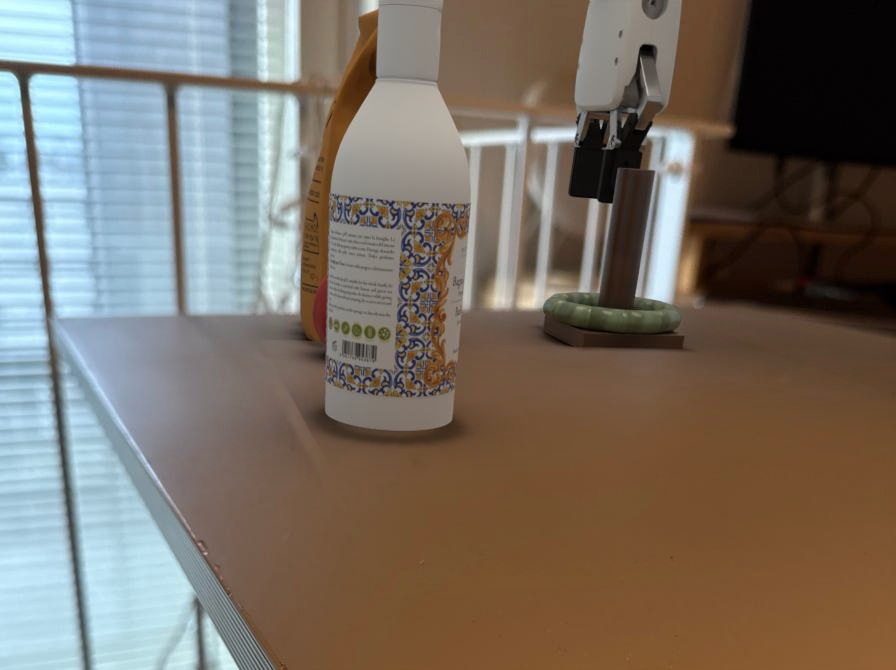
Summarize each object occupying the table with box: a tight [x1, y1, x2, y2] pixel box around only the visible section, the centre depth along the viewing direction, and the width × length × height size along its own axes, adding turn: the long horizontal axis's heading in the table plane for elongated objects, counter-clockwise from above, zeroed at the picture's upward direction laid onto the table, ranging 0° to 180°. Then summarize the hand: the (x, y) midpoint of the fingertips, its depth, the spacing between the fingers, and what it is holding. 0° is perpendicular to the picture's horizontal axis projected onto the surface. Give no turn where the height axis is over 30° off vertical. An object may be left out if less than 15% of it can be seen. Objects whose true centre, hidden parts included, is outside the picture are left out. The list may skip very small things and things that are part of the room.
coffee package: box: [299, 8, 379, 342], centre depth 72 cm, size 10×12×22 cm
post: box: [542, 168, 686, 350], centre depth 80 cm, size 9×9×14 cm
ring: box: [542, 291, 683, 334], centre depth 82 cm, size 12×12×2 cm
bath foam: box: [324, 0, 472, 432], centre depth 48 cm, size 7×7×20 cm
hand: (599, 198), depth 84 cm, fingers open, 6 cm apart
